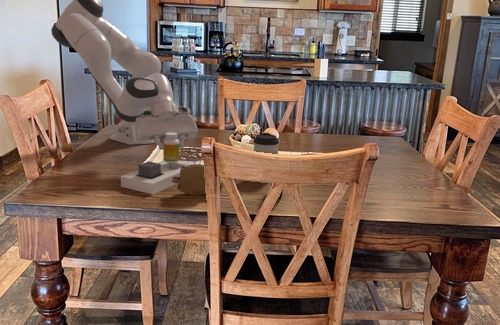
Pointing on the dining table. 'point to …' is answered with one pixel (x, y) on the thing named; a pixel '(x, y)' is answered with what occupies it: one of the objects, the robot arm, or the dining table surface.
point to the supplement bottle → (171, 148)
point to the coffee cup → (266, 143)
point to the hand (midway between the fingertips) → (171, 148)
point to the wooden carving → (192, 180)
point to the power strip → (153, 176)
